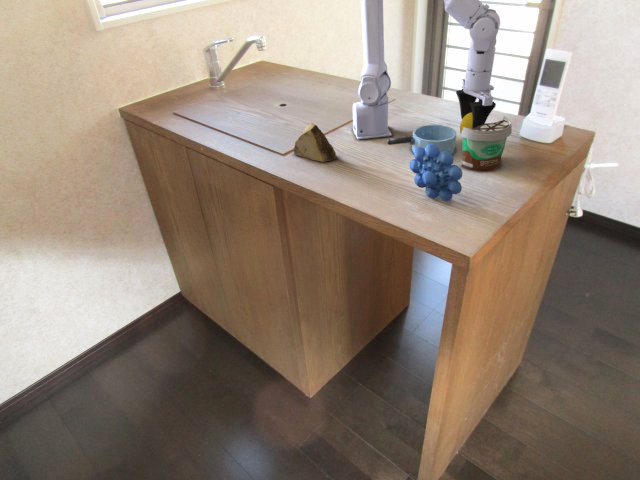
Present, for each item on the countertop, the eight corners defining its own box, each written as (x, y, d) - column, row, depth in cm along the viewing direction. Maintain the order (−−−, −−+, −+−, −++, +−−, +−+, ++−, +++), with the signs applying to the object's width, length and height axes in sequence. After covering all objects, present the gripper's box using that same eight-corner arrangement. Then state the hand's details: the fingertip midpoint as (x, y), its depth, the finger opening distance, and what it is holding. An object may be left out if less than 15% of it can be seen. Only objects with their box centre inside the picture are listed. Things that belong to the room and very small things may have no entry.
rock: (281, 148, 114) (298, 156, 106) (294, 116, 113) (313, 122, 105) (314, 163, 121) (332, 172, 113) (327, 133, 119) (347, 140, 111)
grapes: (398, 199, 95) (400, 147, 88) (413, 186, 99) (417, 135, 92) (449, 215, 89) (456, 160, 81) (464, 200, 93) (471, 146, 86)
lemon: (481, 146, 112) (486, 115, 108) (458, 146, 114) (462, 115, 109) (479, 137, 117) (484, 107, 112) (457, 137, 118) (461, 107, 113)
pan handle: (413, 141, 112) (414, 134, 111) (415, 144, 111) (416, 137, 110) (386, 144, 112) (386, 137, 111) (387, 147, 110) (387, 140, 109)
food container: (473, 178, 100) (480, 136, 94) (456, 168, 104) (461, 127, 98) (517, 165, 103) (526, 124, 97) (498, 155, 108) (505, 115, 102)
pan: (418, 160, 109) (420, 143, 106) (407, 143, 117) (408, 127, 114) (460, 156, 109) (462, 138, 106) (446, 139, 118) (447, 122, 115)
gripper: (510, 75, 99) (499, 133, 107) (483, 59, 110) (475, 112, 118) (479, 79, 98) (470, 136, 106) (455, 61, 110) (449, 115, 118)
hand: (471, 124), depth 112 cm, fingers open, 7 cm apart
